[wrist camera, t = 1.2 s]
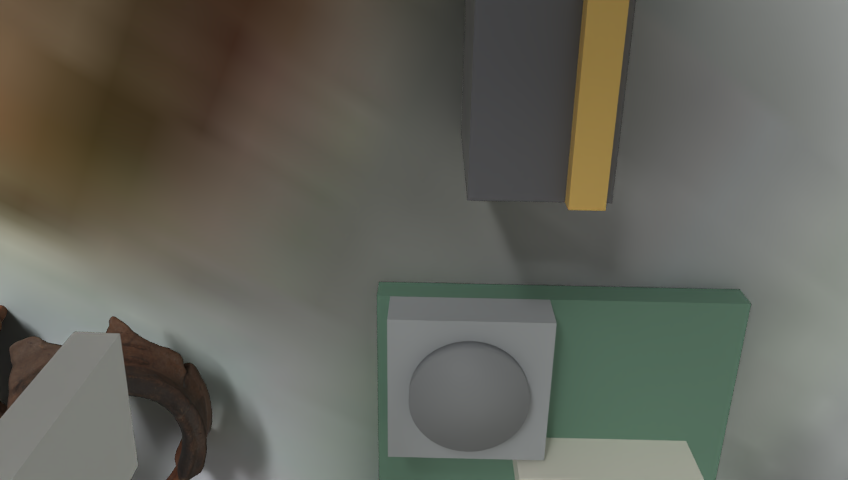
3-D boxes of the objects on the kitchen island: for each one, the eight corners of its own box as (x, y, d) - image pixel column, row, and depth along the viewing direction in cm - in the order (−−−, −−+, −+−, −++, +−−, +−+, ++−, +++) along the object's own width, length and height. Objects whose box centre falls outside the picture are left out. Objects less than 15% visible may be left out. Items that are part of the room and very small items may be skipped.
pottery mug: (3, 230, 30) (20, 326, 24) (217, 299, 36) (278, 391, 30) (-123, 486, 32) (-140, 645, 25) (103, 514, 37) (137, 648, 31)
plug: (467, -44, 26) (477, -27, 19) (588, -43, 25) (645, -24, 18) (460, 133, 28) (468, 208, 21) (572, 135, 28) (616, 211, 21)
